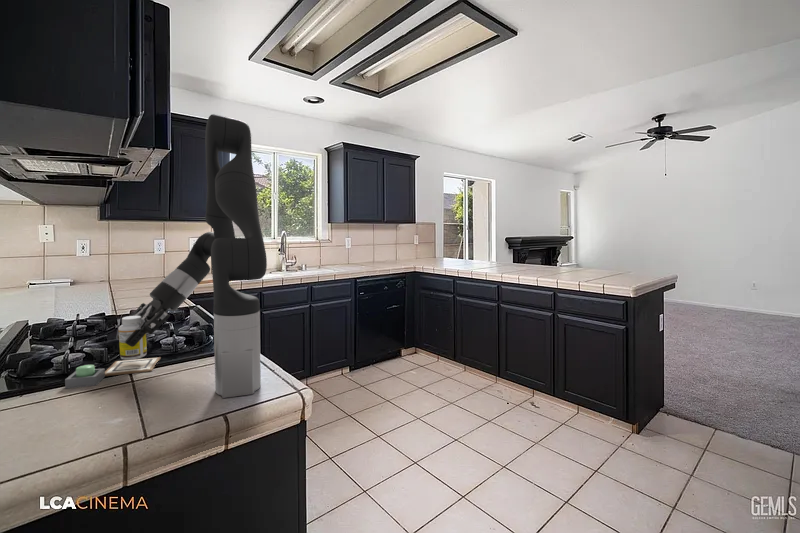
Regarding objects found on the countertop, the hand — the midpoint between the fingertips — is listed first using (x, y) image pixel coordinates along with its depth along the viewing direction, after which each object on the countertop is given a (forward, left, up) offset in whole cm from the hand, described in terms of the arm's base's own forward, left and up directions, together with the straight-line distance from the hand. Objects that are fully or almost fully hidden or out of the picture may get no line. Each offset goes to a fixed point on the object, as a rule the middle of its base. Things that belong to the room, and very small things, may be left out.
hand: (124, 342), depth 92 cm
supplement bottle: (+1, -2, -4) cm, 5 cm away
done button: (-7, +6, -6) cm, 11 cm away
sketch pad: (+1, -1, -7) cm, 7 cm away
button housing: (-7, +6, -7) cm, 11 cm away
